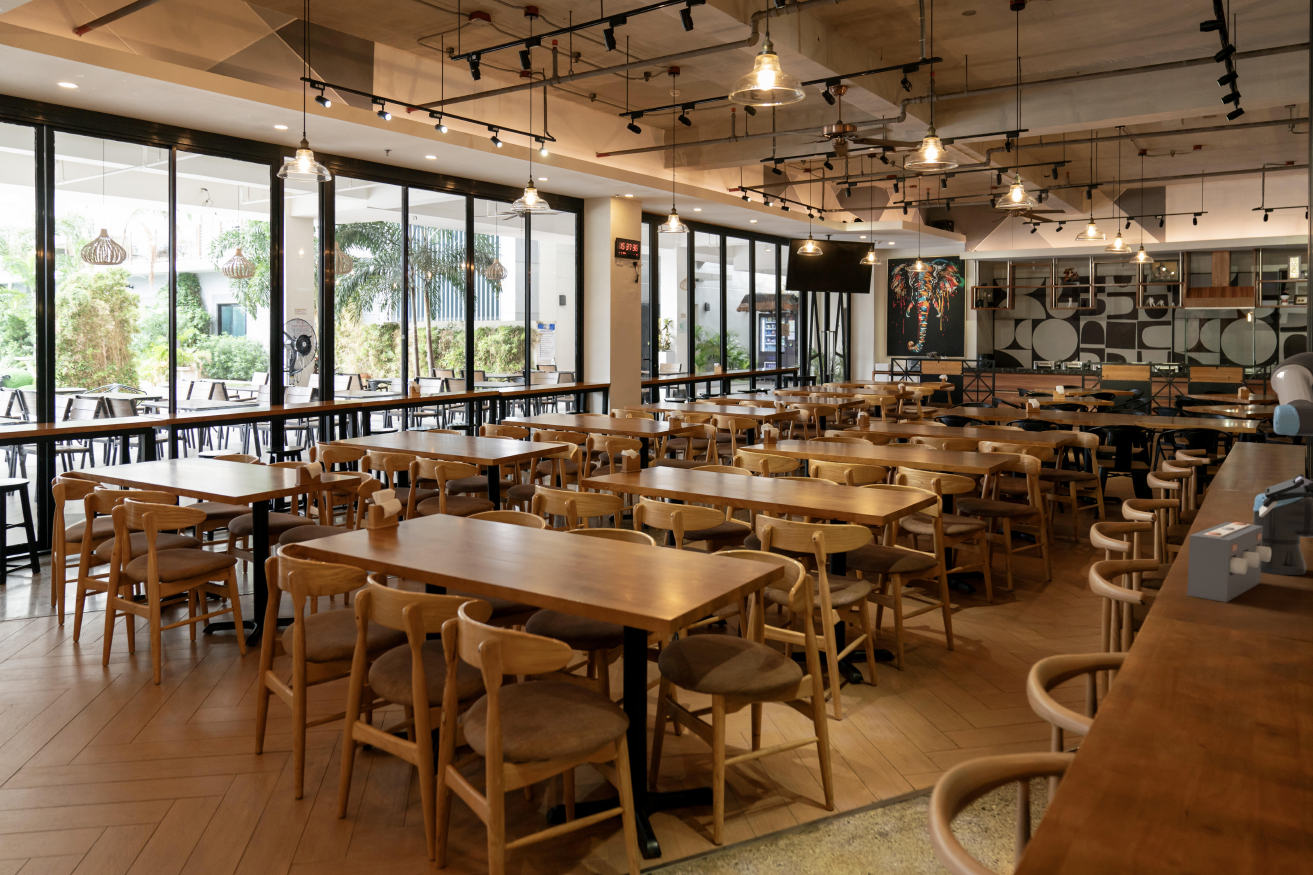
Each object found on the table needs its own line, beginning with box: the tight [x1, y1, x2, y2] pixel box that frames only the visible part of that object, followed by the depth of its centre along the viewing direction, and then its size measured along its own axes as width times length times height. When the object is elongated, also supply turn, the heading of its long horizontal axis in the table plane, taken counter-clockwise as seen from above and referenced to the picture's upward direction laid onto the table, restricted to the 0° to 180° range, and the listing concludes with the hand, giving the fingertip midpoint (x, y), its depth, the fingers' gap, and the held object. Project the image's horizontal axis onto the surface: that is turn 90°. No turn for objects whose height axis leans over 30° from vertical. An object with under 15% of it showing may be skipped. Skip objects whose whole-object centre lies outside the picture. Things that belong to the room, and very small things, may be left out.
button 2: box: [1255, 545, 1271, 562], centre depth 245 cm, size 4×6×4 cm
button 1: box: [1230, 557, 1248, 575], centre depth 230 cm, size 4×6×4 cm
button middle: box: [1243, 551, 1260, 568], centre depth 238 cm, size 4×6×4 cm
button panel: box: [1186, 521, 1263, 603], centre depth 241 cm, size 30×9×17 cm, turn 132°
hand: (1287, 522), depth 235 cm, fingers open, 13 cm apart
